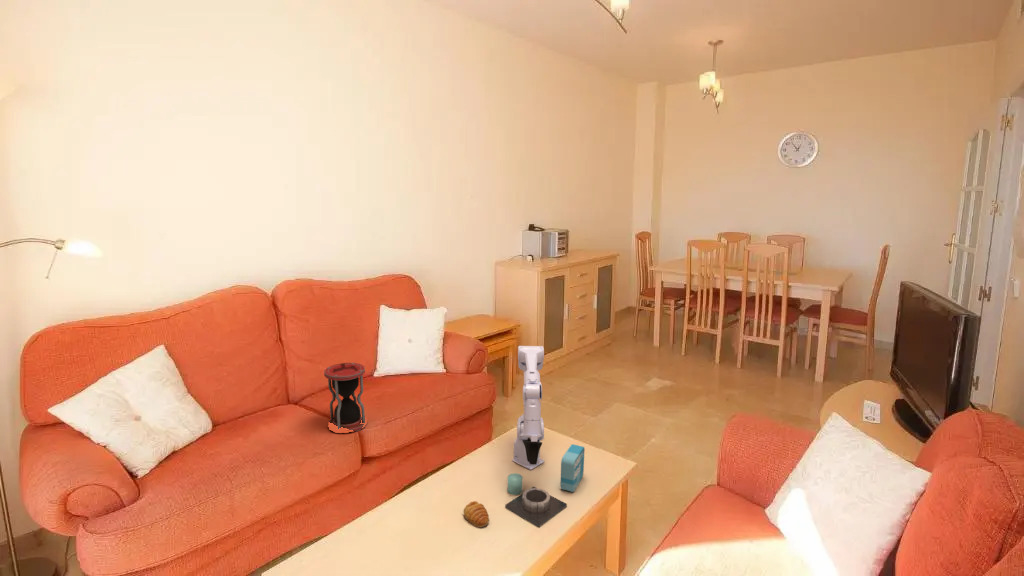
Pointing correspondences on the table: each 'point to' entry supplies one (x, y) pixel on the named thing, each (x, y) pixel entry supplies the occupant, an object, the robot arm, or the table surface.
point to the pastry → (476, 514)
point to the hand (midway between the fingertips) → (531, 463)
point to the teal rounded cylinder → (515, 484)
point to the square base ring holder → (536, 506)
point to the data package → (572, 468)
